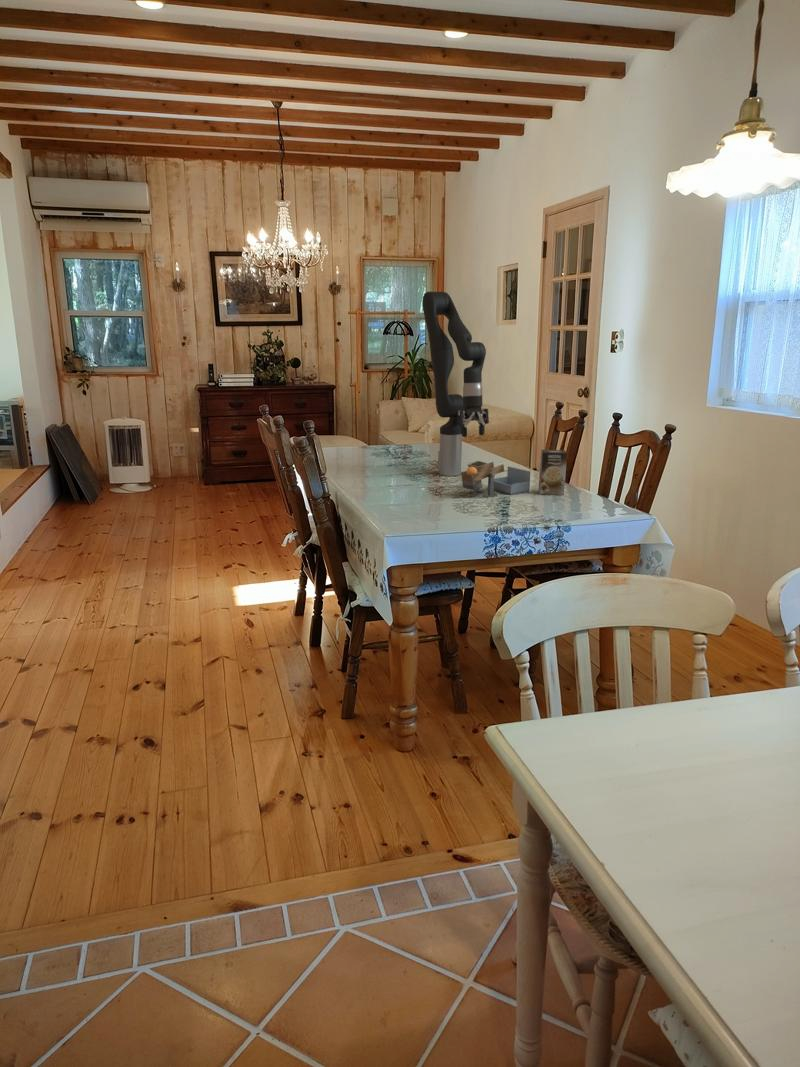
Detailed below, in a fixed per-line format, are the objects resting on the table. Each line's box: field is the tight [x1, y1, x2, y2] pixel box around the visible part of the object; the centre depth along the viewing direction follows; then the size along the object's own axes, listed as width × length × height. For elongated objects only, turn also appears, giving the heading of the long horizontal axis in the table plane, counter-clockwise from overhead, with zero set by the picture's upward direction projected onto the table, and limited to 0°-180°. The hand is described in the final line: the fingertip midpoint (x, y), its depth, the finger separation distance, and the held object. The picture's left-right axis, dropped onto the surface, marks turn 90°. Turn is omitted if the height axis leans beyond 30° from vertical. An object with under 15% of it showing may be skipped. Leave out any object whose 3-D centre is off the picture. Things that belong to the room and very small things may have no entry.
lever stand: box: [469, 473, 498, 499], centre depth 276 cm, size 5×11×9 cm, turn 33°
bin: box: [493, 465, 531, 496], centre depth 283 cm, size 9×12×8 cm
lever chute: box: [460, 460, 505, 491], centre depth 279 cm, size 15×15×6 cm
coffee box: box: [538, 449, 568, 496], centre depth 278 cm, size 9×6×16 cm
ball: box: [465, 467, 477, 475], centre depth 272 cm, size 4×4×4 cm
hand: (473, 435), depth 296 cm, fingers open, 8 cm apart
